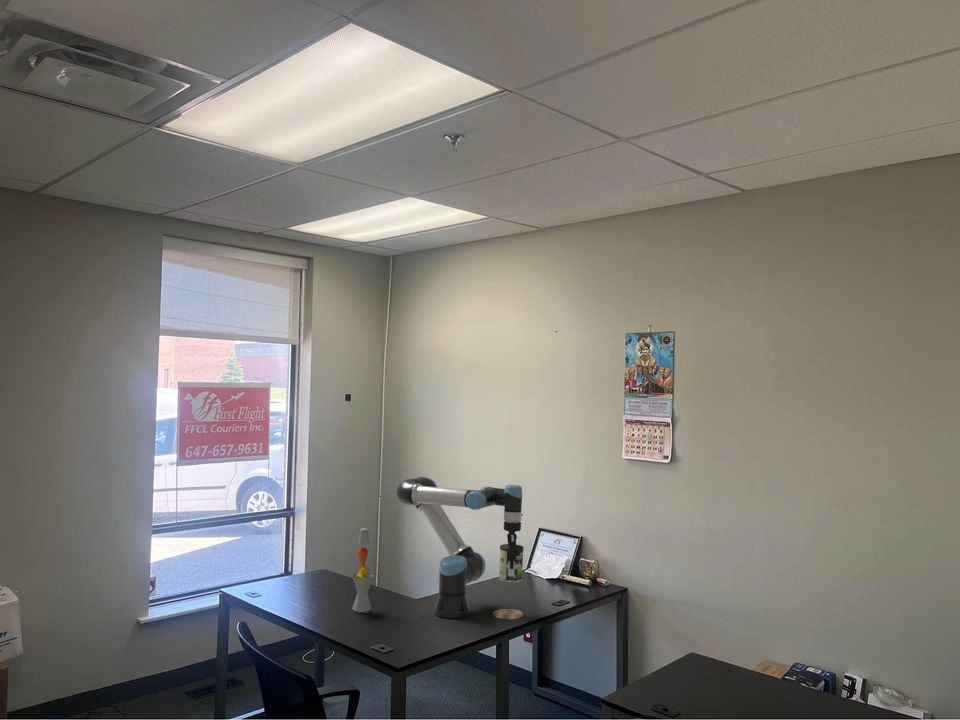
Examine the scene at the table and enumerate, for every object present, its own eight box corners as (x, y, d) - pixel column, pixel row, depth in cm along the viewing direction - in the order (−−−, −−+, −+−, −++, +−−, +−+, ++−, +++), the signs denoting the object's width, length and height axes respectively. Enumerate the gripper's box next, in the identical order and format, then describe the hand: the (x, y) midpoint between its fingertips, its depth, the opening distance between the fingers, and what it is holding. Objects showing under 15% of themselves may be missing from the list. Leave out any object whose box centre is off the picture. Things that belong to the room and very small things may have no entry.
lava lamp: (347, 610, 301) (349, 528, 303) (364, 606, 308) (366, 526, 309) (359, 615, 295) (361, 531, 297) (376, 611, 301) (378, 529, 303)
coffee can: (526, 578, 304) (527, 546, 305) (515, 584, 295) (517, 550, 296) (505, 574, 309) (506, 542, 310) (494, 579, 300) (495, 546, 301)
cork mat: (493, 619, 293) (493, 617, 293) (492, 610, 306) (492, 608, 306) (524, 619, 293) (524, 618, 293) (521, 610, 306) (521, 608, 306)
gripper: (522, 526, 292) (520, 580, 291) (519, 516, 314) (517, 566, 313) (504, 525, 292) (502, 579, 291) (503, 516, 314) (501, 565, 313)
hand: (510, 572), depth 302 cm, fingers closed on coffee can, 10 cm apart
